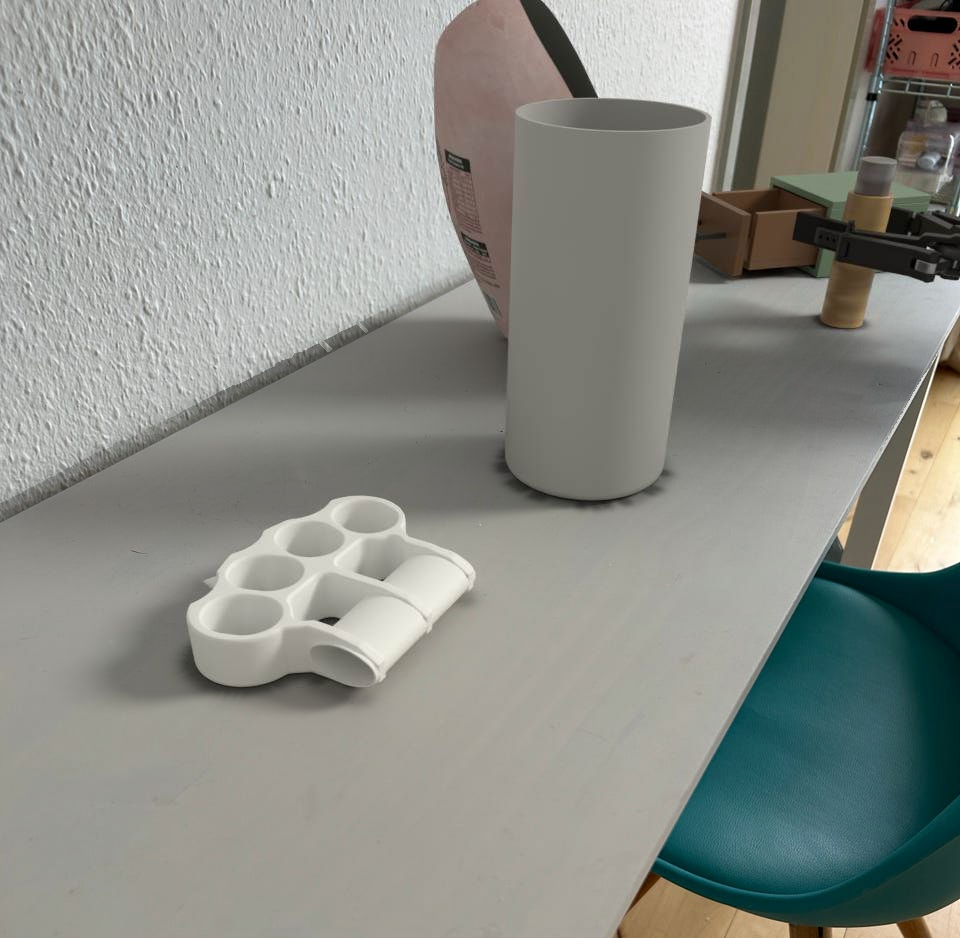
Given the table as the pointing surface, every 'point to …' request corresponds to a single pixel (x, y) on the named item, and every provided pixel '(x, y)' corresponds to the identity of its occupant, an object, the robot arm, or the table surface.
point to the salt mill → (870, 213)
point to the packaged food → (494, 122)
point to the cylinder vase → (599, 289)
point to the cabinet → (841, 203)
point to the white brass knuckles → (324, 598)
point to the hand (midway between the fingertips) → (826, 218)
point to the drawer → (753, 229)
